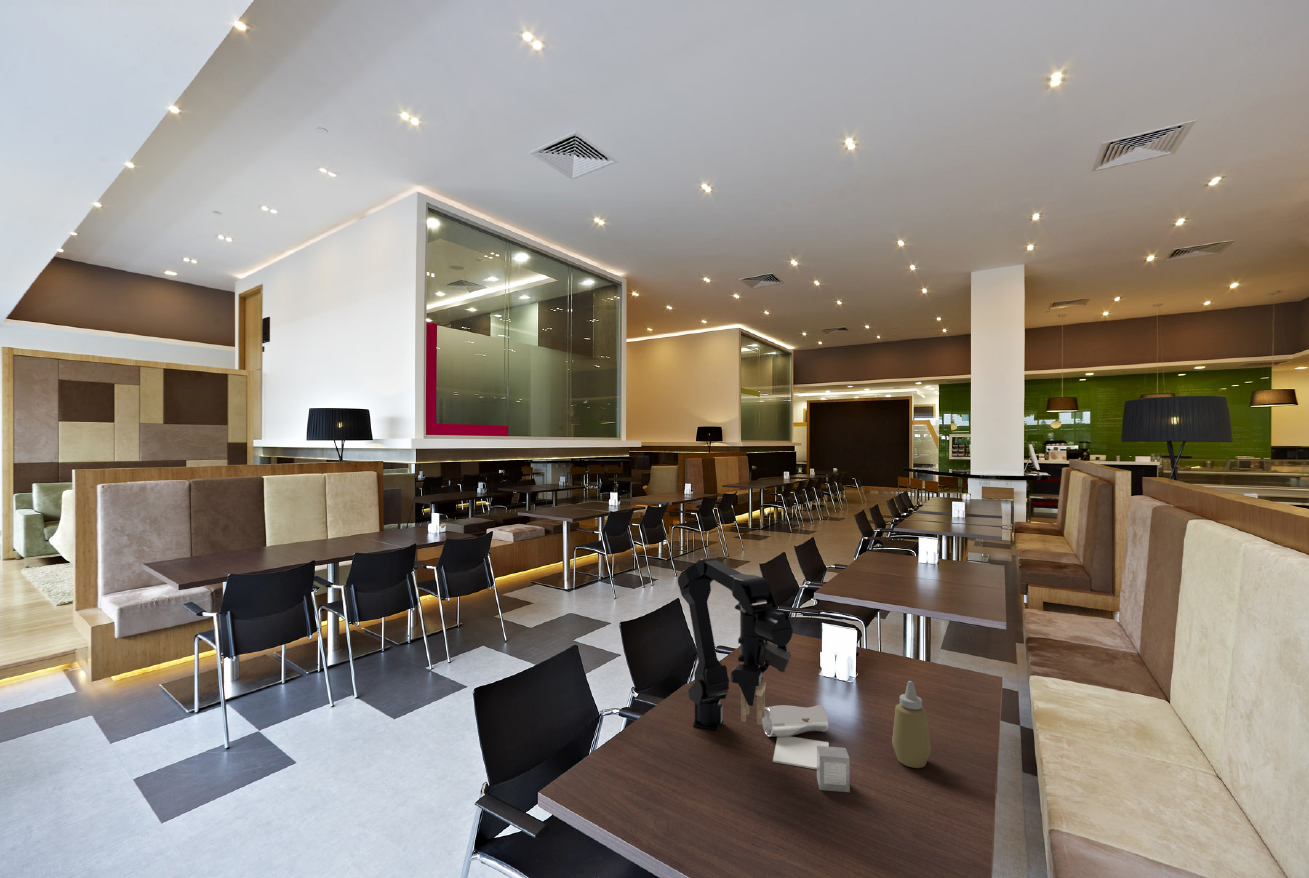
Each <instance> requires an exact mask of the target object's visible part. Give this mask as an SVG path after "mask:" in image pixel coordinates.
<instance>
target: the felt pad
mask: <svg viewBox="0 0 1309 878" xmlns="http://www.w3.org/2000/svg"><path fill="white" fill-rule="evenodd" d="M817 746H826V747H830V746H829V742H828V741H821V740H816V739H810V738H809V739H808V738H803V737H796V736H786V737H776V743H775V747H774V753H773V758H772V762H773V763H777V764H783V765H789V766H795V767H800V768H807V769H812V770H817Z"/></svg>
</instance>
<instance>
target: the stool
mask: <svg viewBox="0 0 1309 878" xmlns="http://www.w3.org/2000/svg"><path fill="white" fill-rule="evenodd" d="M766 682H767V681H766V680H762V682H761V683H760V685H759V686H756V692H755V695H757V697H756V725H758V726H759V725H760V726H762V725H763V723H762V718H764V717H765V707H766V706H765V705H766V704H765V703H766V700H765V699H766V696H765V695H766V693H765V691H766V690H765V689H766V688H767V687H766V685H767V684H766ZM739 693H740V722H742V723H746V722H747V716H749V715H750V706H749V705H748V704H747V702H746V699H745V697H744V695H743V693H742V690H741V688H740V687H739Z"/></svg>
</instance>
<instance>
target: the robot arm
mask: <svg viewBox="0 0 1309 878" xmlns="http://www.w3.org/2000/svg"><path fill="white" fill-rule="evenodd" d="M713 581H715V582H716V583H719V584H720V585H722V586H723V587H725V588H726V589H727V590H730V591H731V595H732V597H733V599H735V600H736V601H737V602H738V603H737V604H736V605H735V606H734V609H735V610H737V611H739V612H740V613H739V614H740V616H739V618H740V619H739V622H740V623H739V624H740V628H739V630H740V631H739V632H740V633H739V635H740V636H739V637H738V639H737V642H738V643H737V644H740V645H739V647H740V648H739V649H740V651H739V652H740V653H739V655H738V658H737V661H738V662H741V663H742V664H741V663H738V664H736V665H735V666H734V667H733V668H732V671H731V672H730V678H729V673H728V667H727V666H726V664H724V665H723V664H722V663H721V662H720V661H719V659H718V657H717V656H718V655H717V650H716V645H715V638H714V634H713V629H712V622H711V618H710V611H709V605H708V600H709V597H710V594H711V591H712V587H711V584H712V582H713ZM768 582H769V581H768V580H767V579H766V578H765V577H762V576H759V575H755V574H746V573H745V574H744V573H742V572H740V571H738V570H736V569H734V568H733V567H731V566H728V565H727V564H724V563H723V562H721V561H719V560H718V558H716V557H706V558H704V557H703V558H701V559H699V560H697V561H696V562H695V563H694V564H693V565H691V566H689V567H687V568H686V569H684V570H682V571H680V575H679V576H678V577H677V584H678V587H679V592H680V595H681V596H682V598H683V599H684V600H685V601H686V603H687V604H688V606H689V607H688V608H689V613H690V614H689V615H690V619H691V620H690V621H691V624H692V625H691V626H692V630H693V631H692V632H693V637H694V643H695V649H696V656H697V660H698V661H697V663H696V664H697V665H696V668H695V671H694V683H693V684H692V685H691V686H690V688H689V689H688V691H687V692H688V698H689V699H690V701H692V702H693V703H694V720H693V723H692V727H695V728H701V729H708V730H713V731H718V730H719V728H720V725H721V724H722V722H723V719H724V717H723V713H724V710H723V709H724V707H723V704H722V703H721V700H726V699H727V695H728V693H729V689H730V682H731V683H733V684H738V686H739V689H740V688H741V690H742V693H743V695H744V697H745V699H746V702H747V704H748V705H749V707H753V706H754V702H755V698H757V695H755V692H756V686H759V685H760V683H761V682H762V681H764V677H763V673H765V672H766V671H767V670H768V669H769V667H773V668H774V669H776V670H777V671H779V672H781V673H785V672H786V670H787V667H788V664H789V663H790V660H791V657H792V653H791V651H789V649H788V643H790V641H791V639H792V637H793V631H794V630H793V627H792V625H791V622H790V621H789V620H788V619H786V614H785V613H784V612H779V611H778V610H779V608H780V607H779V605H778V601H777V599H776V598H775V596H774V593H773V592H772V588H771V587H770V585H769V583H768ZM759 603H760V604H759Z"/></svg>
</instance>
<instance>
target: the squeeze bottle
mask: <svg viewBox="0 0 1309 878" xmlns="http://www.w3.org/2000/svg"><path fill="white" fill-rule="evenodd" d="M894 709H895V710H894V718H893V729H892V730H893V731H892V738H891V744H892V747H893V750H894V752H895V755H896V759H897V760H898V762H899V763H901V765H904V766H905V767H910V768H913V769H920V768H921V769H922V768H924V767H925V766H926V764H927V762H928V759H929V757H930V754H931V750H932V747H931V738H930V729H929V722H928V713H927V711H926V709H925V708H924V707H923V699H922V698H921V697H919V696H918V695H917V692H916V687H915V683H914V681H911V680H908V681H907V684H906V687H905V693H903V694H900V695H899V703H897V704H896V705H895V708H894Z"/></svg>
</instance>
